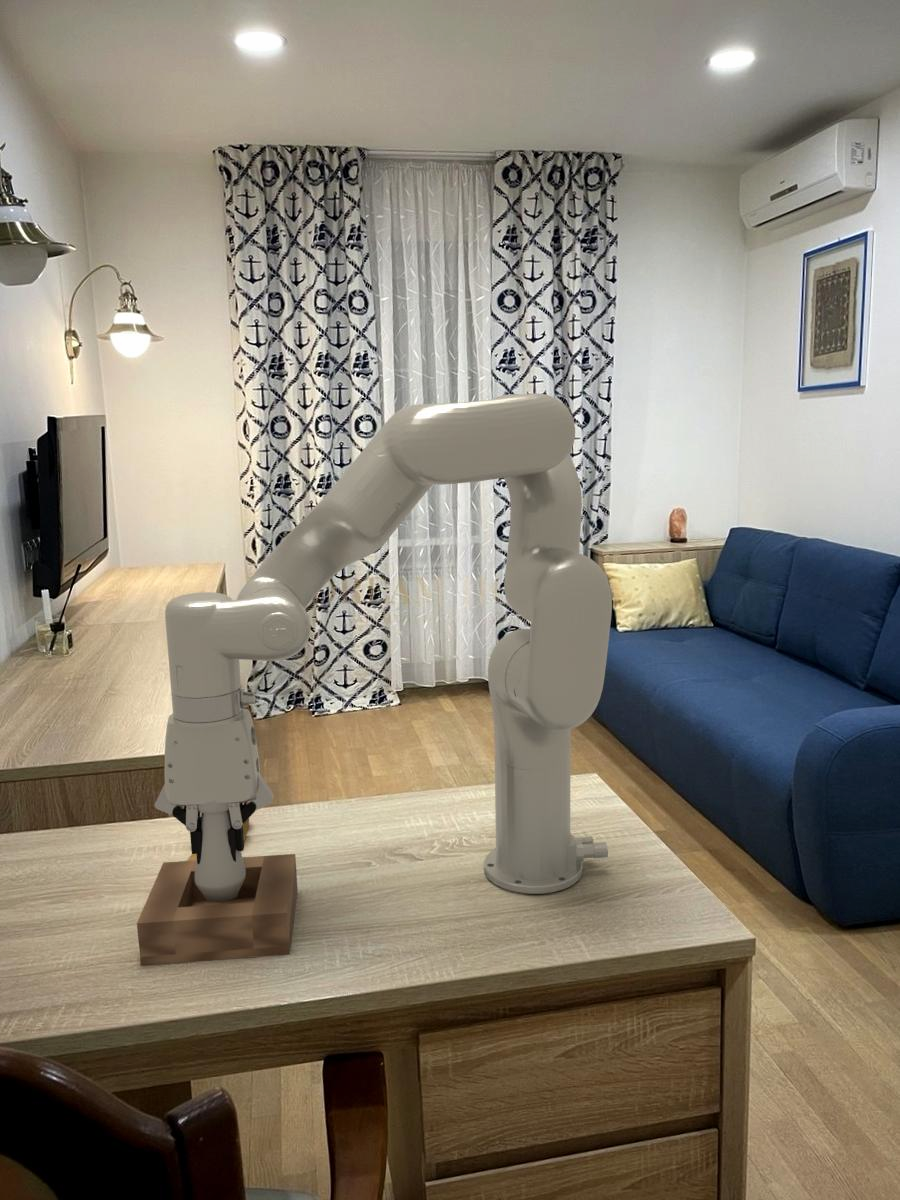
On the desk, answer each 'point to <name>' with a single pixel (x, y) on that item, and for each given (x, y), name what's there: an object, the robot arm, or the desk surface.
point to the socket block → (219, 914)
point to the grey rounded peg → (218, 856)
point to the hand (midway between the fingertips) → (218, 856)
